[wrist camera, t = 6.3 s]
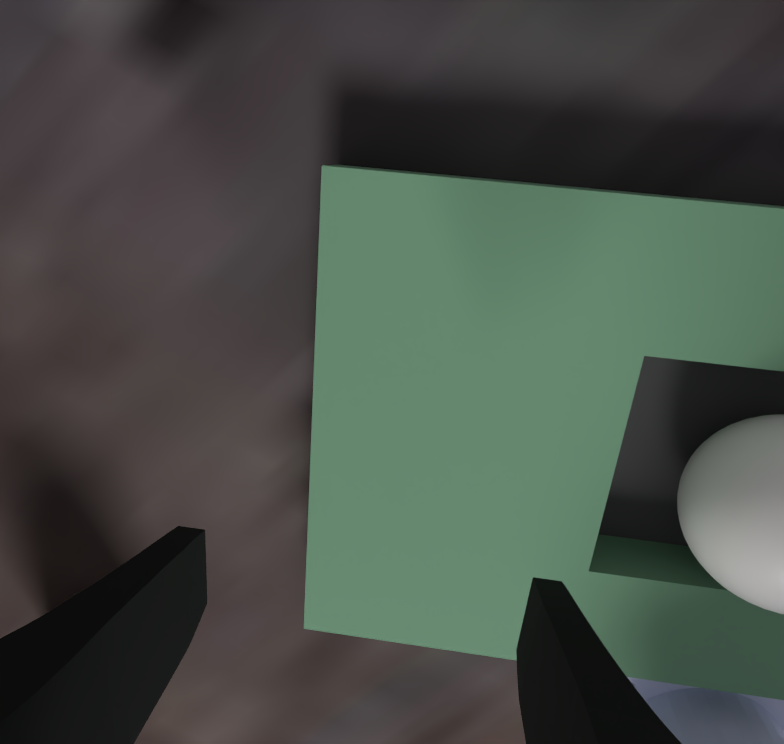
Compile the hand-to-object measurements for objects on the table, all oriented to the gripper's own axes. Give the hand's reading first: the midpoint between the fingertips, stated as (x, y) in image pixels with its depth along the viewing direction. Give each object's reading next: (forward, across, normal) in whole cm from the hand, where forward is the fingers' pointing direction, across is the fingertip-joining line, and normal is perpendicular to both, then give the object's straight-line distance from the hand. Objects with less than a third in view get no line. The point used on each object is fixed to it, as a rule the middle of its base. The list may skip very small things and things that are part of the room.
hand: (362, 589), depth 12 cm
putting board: (+10, -8, 0) cm, 13 cm away
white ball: (+6, -12, 0) cm, 14 cm away
